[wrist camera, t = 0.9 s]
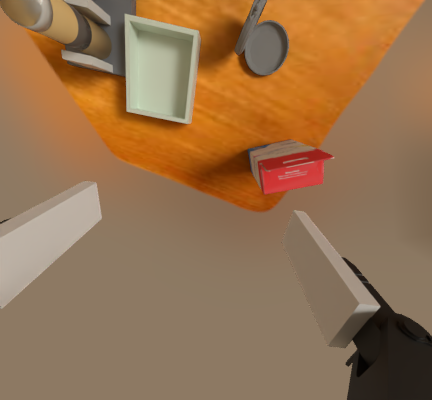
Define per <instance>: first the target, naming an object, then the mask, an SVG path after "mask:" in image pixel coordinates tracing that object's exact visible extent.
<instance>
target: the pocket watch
mask: <svg viewBox="0 0 432 400" xmlns="http://www.w3.org/2000/svg"><path fill="white" fill-rule="evenodd" d="M266 2H267V0H254V3H253V5H252V7H251V10H250V12H249V15H248V17H247V19H246V21H245V23H244V26H243V28H242V31H241V33H240V36H239V38H238V41H237V44H236V47H235V52H236V54H237V55H239V54H241V53H242V52H243V51H244V52H245V59H246V63H247V65H248V67H249V68H250V69H251V71H253V72H254V73H255V74H258V75H262V76H264V75H270V74H272V73H274V72H275V71H277V70H278V69H279V68H280V67H281V66H282V65H283V63H284V61H285V59H286V57H287V54H288V49H289V39H288V35H287V32H286V30H285V29H284V27H283V26H282V25H281V24H279V23H278V22H275V21H272V20H268V21H263V22H261V23H259V24H258V25H256V24H257V22H258V20H259V18H260V16H261V13H262V11H263V9H264V7H265V4H266ZM244 49H245V50H244Z"/></svg>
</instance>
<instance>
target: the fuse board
mask: <svg viewBox="0 0 432 400" xmlns="http://www.w3.org/2000/svg"><path fill="white" fill-rule="evenodd" d="M64 1H65V2H67V3H68V4H70V5H71V6H72V7H74V8H75V9H76V10H78V11H79V12H81V13H82V14H83V15H84V16H86V17H87V18H88V19H90V20H91V21H93V22H94V23H95V24H97V25H98V26H100V27H101V28H102V29H104V30H105V31H106V33H107V34H108V35H109V37H110V40H111V44H112V50H111V53H110V55H109V57H108V58H106V59H103V60H101V59H97V58H95V57H93V56H90V55H88V54H86V53H83V52H81V51H79V50H76V49H73V48H71V47H69V46H66V45H65V48H66V50H61V52H62V59H65V60H67V63H68V64H70V65H73V66H77V67H81V68H86V69H91V70H95V71H100V72H105V73H109V74H114V75H119V76H123V77H126V57H125V14H129V15H133V16H136V0H64Z"/></svg>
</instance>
